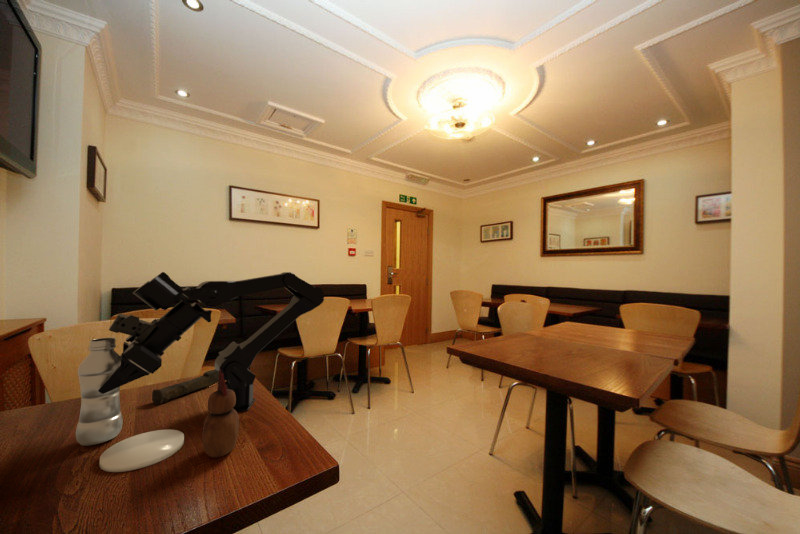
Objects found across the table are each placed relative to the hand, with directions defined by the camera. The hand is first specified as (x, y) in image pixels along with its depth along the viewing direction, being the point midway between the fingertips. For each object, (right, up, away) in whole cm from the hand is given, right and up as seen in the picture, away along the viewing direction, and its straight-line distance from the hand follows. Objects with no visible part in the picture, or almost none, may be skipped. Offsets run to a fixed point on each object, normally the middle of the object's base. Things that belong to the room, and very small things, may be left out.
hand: (102, 385), depth 60 cm
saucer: (+11, -11, -4) cm, 16 cm away
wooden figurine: (+26, -11, -3) cm, 28 cm away
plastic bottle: (0, -11, 0) cm, 11 cm away
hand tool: (0, -12, +25) cm, 28 cm away
